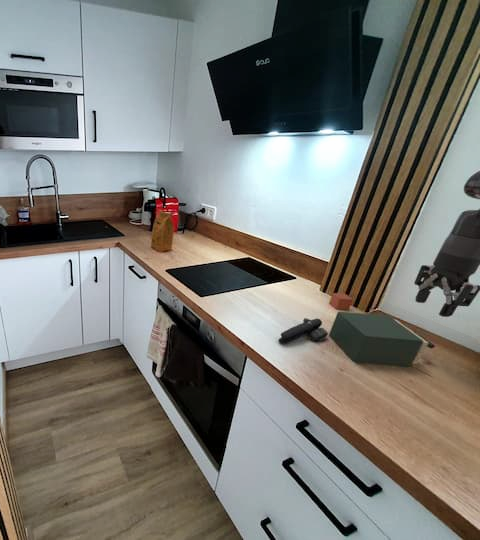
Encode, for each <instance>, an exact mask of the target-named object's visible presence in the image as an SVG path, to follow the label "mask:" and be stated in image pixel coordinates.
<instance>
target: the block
mask: <svg viewBox="0 0 480 540" xmlns="http://www.w3.org/2000/svg"><path fill="white" fill-rule="evenodd" d="M353 301H354V299H353V298H352V297H350V296H349V295H348V294H346V293H341V292H332V294H331V297H330V299H329V303H328V304H329V305H331V306H332V307H333V308H334V309H335V310H341V311H349V310H350V308H351V305H352V303H353Z"/></svg>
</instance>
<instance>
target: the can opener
mask: <svg viewBox="0 0 480 540" xmlns="http://www.w3.org/2000/svg"><path fill="white" fill-rule="evenodd" d="M322 325H323V322H322V320H321V319H320V318H314V319H309V318H307V317H305V318H303V320H302V323H299V324H297V325H294V326H292V327H290V328H288V329H287V330H284V331H283V332H281V333H280V338H278V340H277V341H278V343H279V344H281V345H286V344H290V343H292V342H295V341H296V340H299V339H300V338H303V337H305V336H307V338H309V339H310V340H311V341H313V342H318V341H321V340H323V339H325V338H327V336H329V332H328V331H327V330H326V329H325V328H323V327H321V326H322Z"/></svg>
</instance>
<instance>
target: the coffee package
mask: <svg viewBox="0 0 480 540" xmlns="http://www.w3.org/2000/svg"><path fill="white" fill-rule="evenodd" d="M172 216H173V214H172V212H166V211H165V212H164V211H163V210H162V209H159V210H158V212H157V214H156V217H155V219H154V222H153V226H152V230H151V242H150V247H151V248H153V249H154V250H155V251H157V252H160V253H162V252H166V251H170V250H173V249H172V248H173V240H174V234H175V233H174V232H175V224H174V221H173V219H172Z"/></svg>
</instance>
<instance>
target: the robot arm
mask: <svg viewBox="0 0 480 540" xmlns="http://www.w3.org/2000/svg"><path fill="white" fill-rule="evenodd" d="M463 193H464V194H465V195H466V197H468V198H471V199H475V200H480V170H478V171H476V172H475V173H474V174H472V175H471V176H470V177H469V178H467V180H466V181H465V183H464V185H463ZM479 268H480V208H478V209H467V210H463V211H462V212H461V213H459V215H458V216H457V218H456V221H455V222H454V225H453V226H452V228H451V230H450V232H449V233H448V235H447V237H446V238H445V240H444V241H443V243H442V245H441V247H440V248H439V251H438V252H437V255H436V257H435V258H434V261H433V263H432V265H427V264H425V265H424V264H423V265H421V266H420V268H419V270H418V273H417V276H416V277H415V280H414V283H413V284H414V285H415V286H418V289H419V290H418V292H417V294H416V296H415V300H414V301H415V302H416V303H419V304H424V303H426V302H427V301H428V298H429V296H430V294H431V293H432V290H433V289H435V288H439V289H440V290H442V291H443V292H442V293H443V295H444V296H445V302H444V304H443V305H442V307H441V308H440V310H439V313H438V315H439V316H441V317H443V318H449V317H451V316H453V315H454V313H455V311H456V310H457V308H458V307H469V306H471V304H472V303H473V301H474V300H475V298H476V297H477V295H478V294H479V292H480V285H479V284H473V283H471V282H470V277H471V276H472V275H474V274H476V272H477V270H478V269H479Z"/></svg>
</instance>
